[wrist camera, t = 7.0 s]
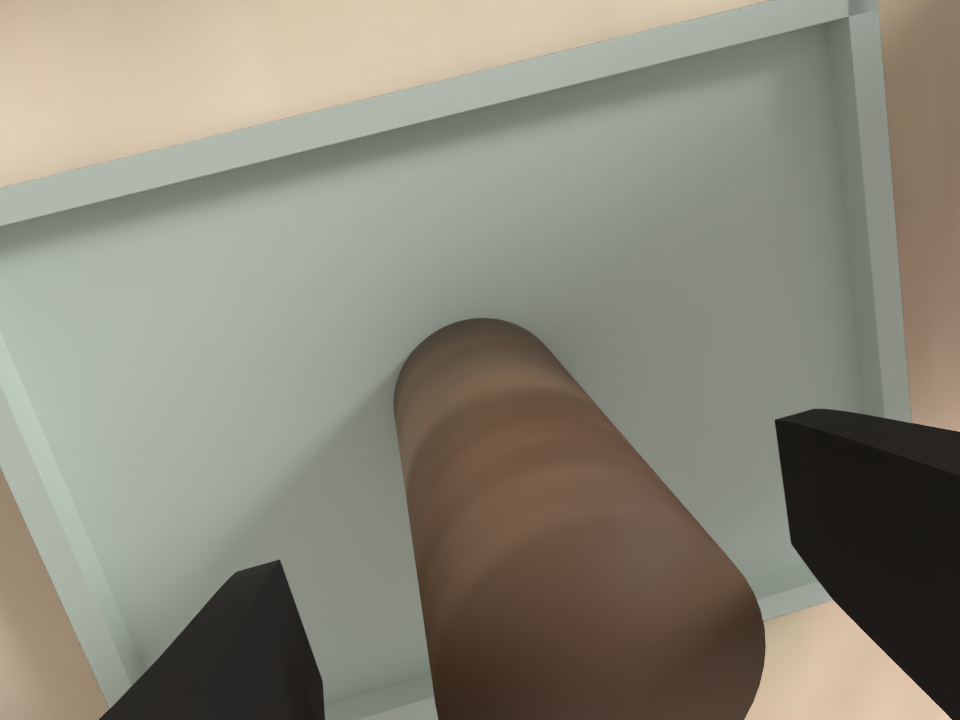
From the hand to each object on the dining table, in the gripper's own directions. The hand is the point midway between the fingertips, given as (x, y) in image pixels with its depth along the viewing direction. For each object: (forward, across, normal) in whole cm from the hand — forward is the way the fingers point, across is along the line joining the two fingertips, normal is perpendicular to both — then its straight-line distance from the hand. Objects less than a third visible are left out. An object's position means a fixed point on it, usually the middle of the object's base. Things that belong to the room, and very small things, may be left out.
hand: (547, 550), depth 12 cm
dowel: (+6, 0, 0) cm, 6 cm away
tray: (+7, 0, 0) cm, 7 cm away
